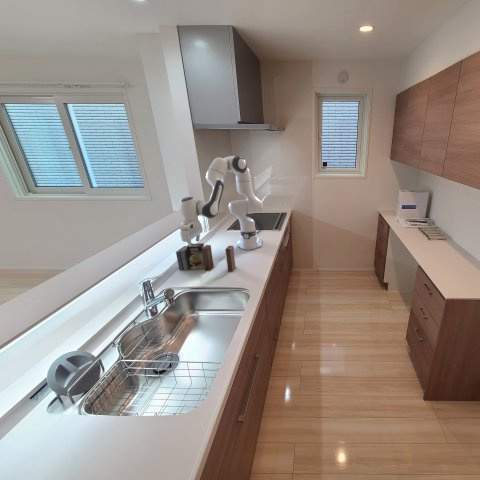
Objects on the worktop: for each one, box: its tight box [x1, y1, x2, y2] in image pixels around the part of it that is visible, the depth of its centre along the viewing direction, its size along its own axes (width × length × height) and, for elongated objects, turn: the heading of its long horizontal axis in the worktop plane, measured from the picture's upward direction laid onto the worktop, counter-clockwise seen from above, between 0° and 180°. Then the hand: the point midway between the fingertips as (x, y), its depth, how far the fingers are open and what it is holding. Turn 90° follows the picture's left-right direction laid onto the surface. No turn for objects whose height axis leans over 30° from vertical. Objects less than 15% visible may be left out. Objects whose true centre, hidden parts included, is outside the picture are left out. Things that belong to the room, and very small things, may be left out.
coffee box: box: [186, 243, 205, 270], centre depth 165 cm, size 9×6×16 cm
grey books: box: [175, 244, 191, 271], centre depth 166 cm, size 10×6×14 cm, turn 179°
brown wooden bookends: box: [202, 244, 236, 272], centre depth 163 cm, size 6×18×16 cm, turn 89°
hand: (194, 243), depth 162 cm, fingers open, 8 cm apart
